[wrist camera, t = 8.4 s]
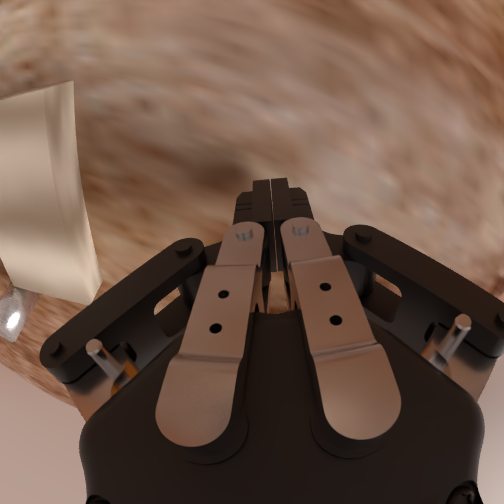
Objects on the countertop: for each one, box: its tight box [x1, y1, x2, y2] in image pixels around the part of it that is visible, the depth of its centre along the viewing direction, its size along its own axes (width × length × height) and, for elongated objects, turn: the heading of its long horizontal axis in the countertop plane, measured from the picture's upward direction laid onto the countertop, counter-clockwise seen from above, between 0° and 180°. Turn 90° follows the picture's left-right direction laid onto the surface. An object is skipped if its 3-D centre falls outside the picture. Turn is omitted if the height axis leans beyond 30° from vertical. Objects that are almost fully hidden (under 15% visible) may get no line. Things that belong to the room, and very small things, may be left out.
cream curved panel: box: [0, 80, 103, 305], centre depth 14 cm, size 14×8×3 cm, turn 172°
